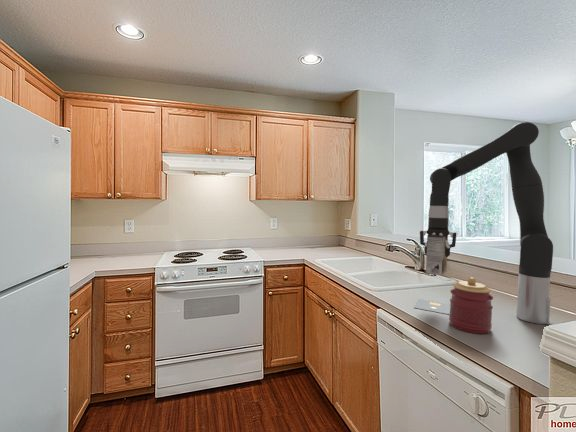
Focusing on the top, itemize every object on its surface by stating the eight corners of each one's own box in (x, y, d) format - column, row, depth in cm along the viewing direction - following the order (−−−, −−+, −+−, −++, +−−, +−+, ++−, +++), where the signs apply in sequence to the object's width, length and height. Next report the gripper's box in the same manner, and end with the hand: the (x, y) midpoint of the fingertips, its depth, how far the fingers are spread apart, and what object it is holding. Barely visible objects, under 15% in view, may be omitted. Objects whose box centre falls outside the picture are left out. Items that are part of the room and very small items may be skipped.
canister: (501, 333, 100) (503, 281, 99) (468, 336, 97) (471, 283, 97) (470, 318, 113) (472, 272, 112) (440, 320, 110) (442, 273, 109)
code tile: (453, 305, 128) (453, 304, 128) (452, 315, 116) (452, 314, 116) (418, 299, 135) (418, 298, 135) (413, 308, 123) (413, 307, 123)
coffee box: (430, 269, 131) (432, 233, 130) (447, 271, 126) (448, 234, 126) (425, 273, 123) (426, 234, 123) (442, 275, 119) (443, 235, 119)
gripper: (458, 217, 124) (456, 256, 124) (421, 215, 131) (419, 253, 132) (457, 217, 117) (456, 259, 118) (418, 216, 125) (417, 255, 125)
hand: (436, 255), depth 125 cm, fingers closed on coffee box, 7 cm apart
